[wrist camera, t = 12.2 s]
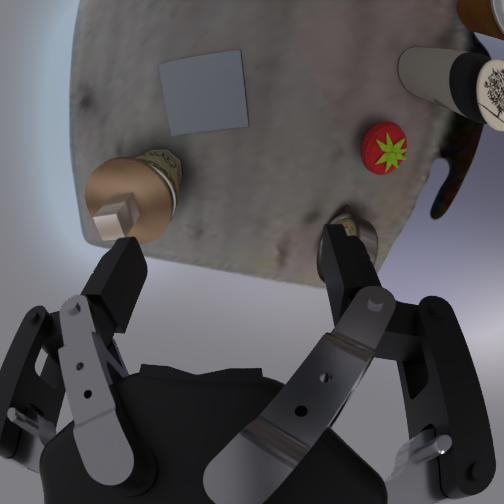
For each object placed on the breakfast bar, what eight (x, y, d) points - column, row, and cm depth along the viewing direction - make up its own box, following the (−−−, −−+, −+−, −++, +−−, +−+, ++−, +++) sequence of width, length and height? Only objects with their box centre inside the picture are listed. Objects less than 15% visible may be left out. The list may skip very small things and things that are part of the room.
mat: (159, 64, 31) (158, 64, 30) (240, 50, 30) (240, 50, 29) (172, 135, 38) (171, 136, 37) (248, 125, 37) (248, 126, 36)
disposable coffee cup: (445, 21, 23) (496, 22, 13) (452, -21, 17) (499, -28, 7) (486, 51, 24) (536, 63, 14) (493, 10, 18) (541, 15, 8)
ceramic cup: (190, 136, 38) (171, 160, 30) (195, 197, 44) (180, 233, 36) (111, 142, 38) (78, 167, 30) (121, 197, 44) (95, 231, 36)
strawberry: (342, 150, 38) (363, 177, 30) (364, 105, 34) (392, 122, 26) (375, 165, 39) (401, 195, 32) (396, 124, 35) (429, 145, 27)
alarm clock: (342, 195, 43) (373, 263, 30) (368, 208, 44) (404, 276, 31) (310, 246, 49) (324, 320, 37) (335, 256, 51) (355, 328, 38)
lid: (77, 167, 30) (51, 189, 25) (160, 148, 29) (140, 169, 24) (106, 242, 37) (89, 270, 33) (182, 236, 36) (171, 266, 32)
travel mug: (408, 37, 26) (491, 41, 12) (447, 66, 27) (532, 91, 13) (389, 79, 31) (465, 104, 17) (429, 106, 32) (508, 148, 18)
